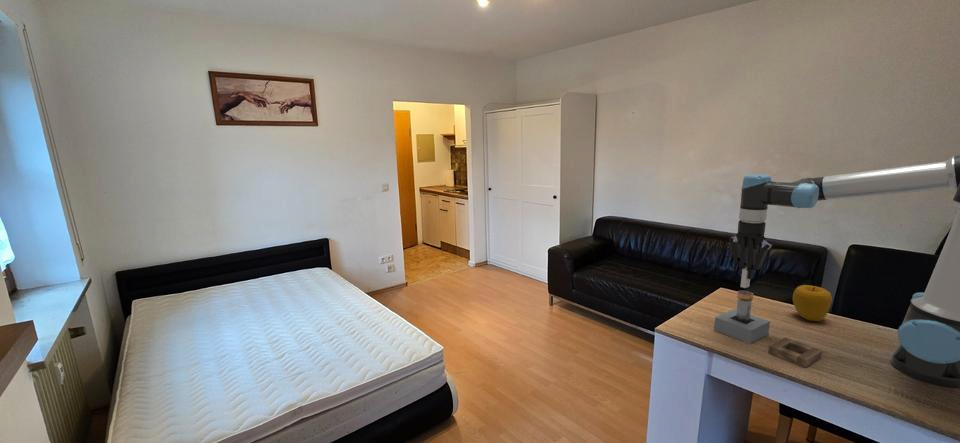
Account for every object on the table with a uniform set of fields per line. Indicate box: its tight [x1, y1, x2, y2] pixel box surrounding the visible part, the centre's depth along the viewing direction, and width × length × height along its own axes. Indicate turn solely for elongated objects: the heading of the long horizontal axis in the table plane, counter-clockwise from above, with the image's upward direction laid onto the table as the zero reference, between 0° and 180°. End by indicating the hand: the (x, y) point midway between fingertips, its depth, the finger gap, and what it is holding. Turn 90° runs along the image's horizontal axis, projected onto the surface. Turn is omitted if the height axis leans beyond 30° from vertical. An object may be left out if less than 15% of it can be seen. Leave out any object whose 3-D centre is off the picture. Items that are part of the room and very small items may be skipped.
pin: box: [736, 290, 754, 324], centre depth 136 cm, size 5×5×15 cm
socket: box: [713, 308, 771, 345], centre depth 137 cm, size 12×12×5 cm
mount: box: [767, 337, 823, 369], centre depth 122 cm, size 10×10×2 cm
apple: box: [792, 284, 833, 322], centre depth 144 cm, size 11×11×13 cm
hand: (744, 286), depth 134 cm, fingers closed
